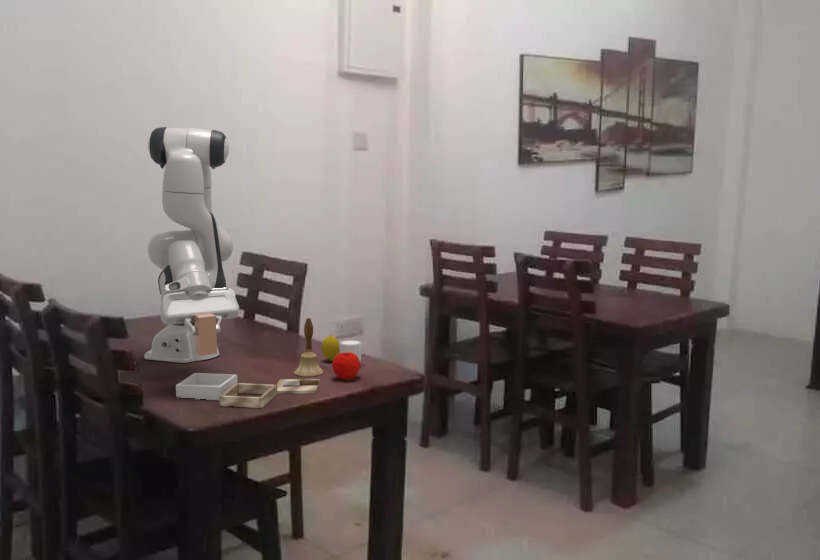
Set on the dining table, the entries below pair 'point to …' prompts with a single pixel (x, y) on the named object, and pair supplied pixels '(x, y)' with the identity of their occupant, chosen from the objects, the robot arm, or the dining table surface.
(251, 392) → the birch bin
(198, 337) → the terracotta brick
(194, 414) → the dining table surface
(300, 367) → the hand bell
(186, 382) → the white square tray
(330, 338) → the lemon
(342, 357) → the apple
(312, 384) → the lid with scoop
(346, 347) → the white round tub
